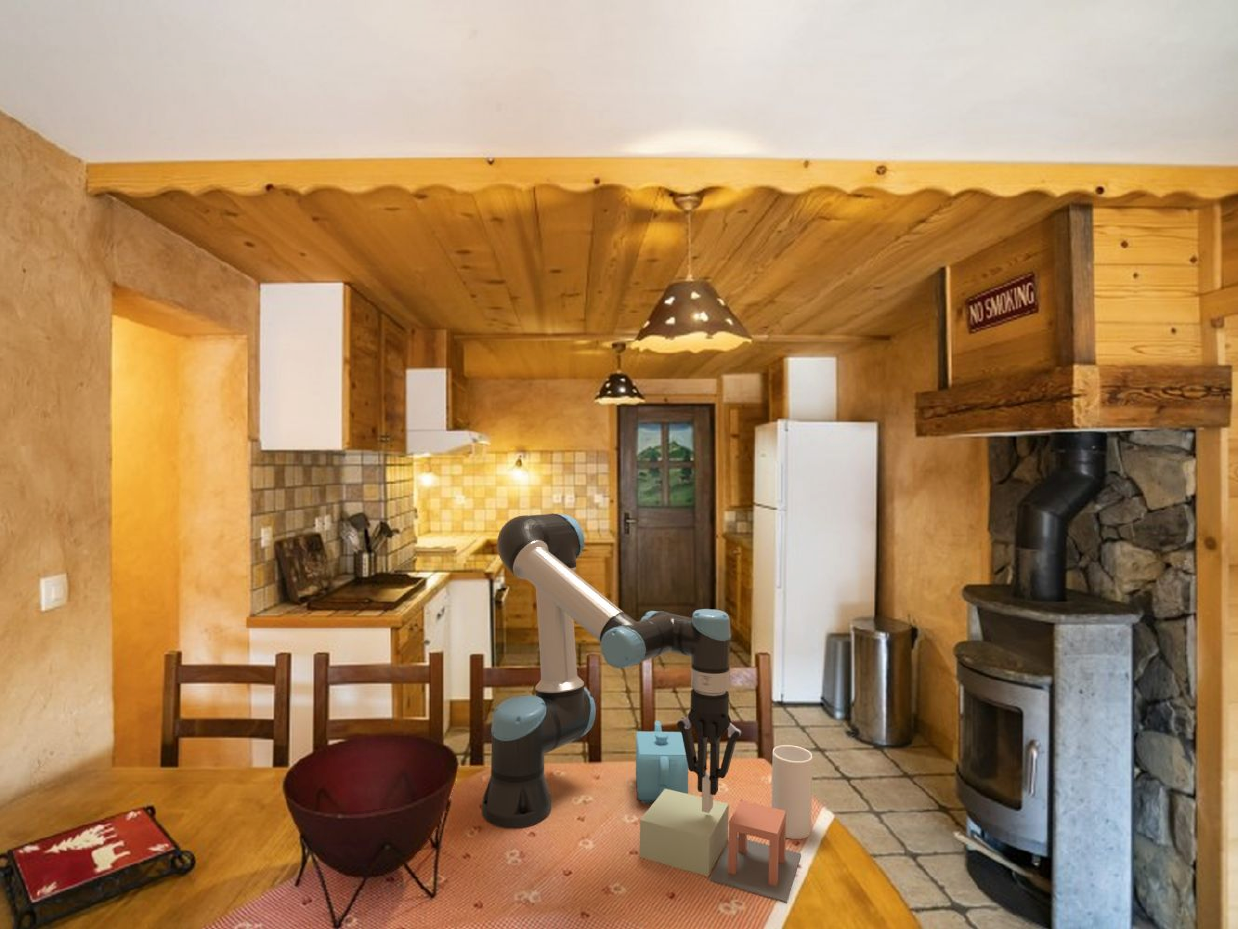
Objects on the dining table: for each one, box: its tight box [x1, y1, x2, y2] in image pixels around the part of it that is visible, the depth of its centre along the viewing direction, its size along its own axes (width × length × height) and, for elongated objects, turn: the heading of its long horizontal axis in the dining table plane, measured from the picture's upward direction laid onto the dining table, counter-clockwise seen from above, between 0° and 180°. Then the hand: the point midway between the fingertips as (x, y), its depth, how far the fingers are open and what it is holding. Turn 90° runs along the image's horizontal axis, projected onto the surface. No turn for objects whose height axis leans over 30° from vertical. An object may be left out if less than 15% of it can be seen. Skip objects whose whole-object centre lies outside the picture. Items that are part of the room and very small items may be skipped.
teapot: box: [635, 720, 689, 804], centre depth 154 cm, size 22×11×14 cm, turn 1°
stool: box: [728, 799, 787, 886], centre depth 125 cm, size 10×9×9 cm
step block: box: [638, 789, 730, 878], centre depth 131 cm, size 14×14×7 cm
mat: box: [709, 839, 802, 904], centre depth 125 cm, size 14×16×1 cm
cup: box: [770, 744, 813, 840], centre depth 139 cm, size 8×8×16 cm
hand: (707, 808), depth 129 cm, fingers closed
